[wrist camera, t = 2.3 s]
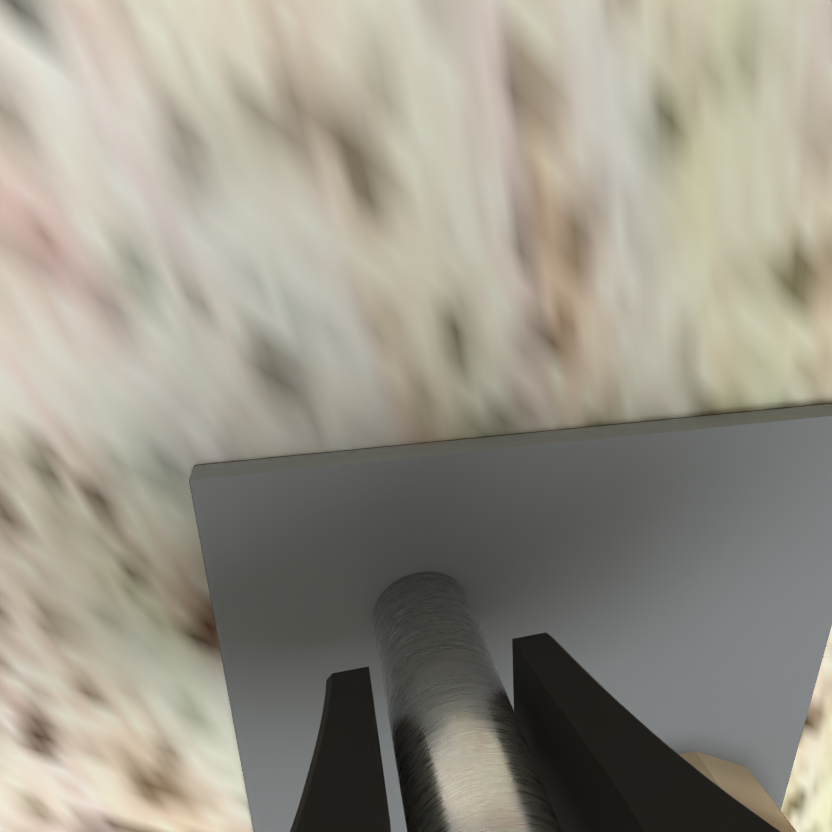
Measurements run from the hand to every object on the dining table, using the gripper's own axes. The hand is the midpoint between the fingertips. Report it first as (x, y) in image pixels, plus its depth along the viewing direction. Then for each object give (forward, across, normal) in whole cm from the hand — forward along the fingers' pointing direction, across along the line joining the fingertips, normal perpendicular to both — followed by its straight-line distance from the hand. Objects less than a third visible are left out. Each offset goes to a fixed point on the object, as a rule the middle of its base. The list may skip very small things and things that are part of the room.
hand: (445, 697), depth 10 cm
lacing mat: (+3, -3, +5) cm, 6 cm away
